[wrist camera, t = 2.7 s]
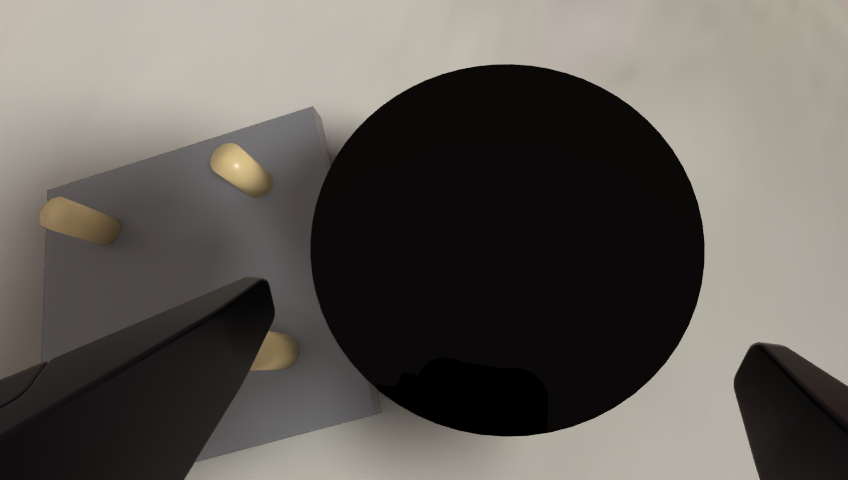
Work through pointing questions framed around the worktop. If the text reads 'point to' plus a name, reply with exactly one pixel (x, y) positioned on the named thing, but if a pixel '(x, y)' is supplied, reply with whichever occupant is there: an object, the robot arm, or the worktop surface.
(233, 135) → the plate
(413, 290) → the supplement container
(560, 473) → the worktop surface
